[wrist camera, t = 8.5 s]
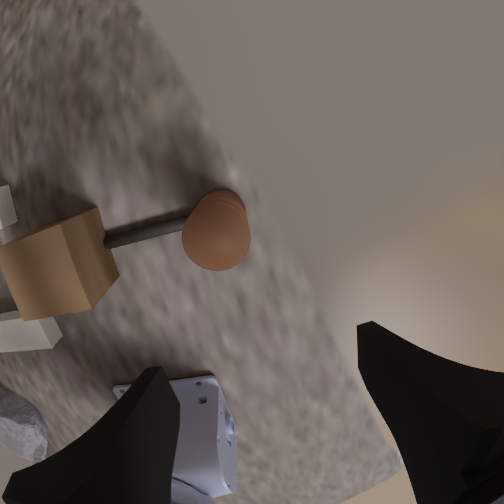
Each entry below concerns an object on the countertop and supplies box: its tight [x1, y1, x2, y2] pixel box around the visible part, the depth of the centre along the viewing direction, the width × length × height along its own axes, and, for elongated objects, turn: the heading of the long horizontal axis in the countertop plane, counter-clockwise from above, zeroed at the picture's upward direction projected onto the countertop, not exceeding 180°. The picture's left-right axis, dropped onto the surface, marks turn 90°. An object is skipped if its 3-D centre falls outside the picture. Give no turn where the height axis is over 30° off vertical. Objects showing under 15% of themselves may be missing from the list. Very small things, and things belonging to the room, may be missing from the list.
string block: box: [0, 189, 251, 322], centre depth 16 cm, size 16×5×6 cm, turn 102°
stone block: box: [0, 385, 48, 462], centre depth 24 cm, size 12×5×10 cm
